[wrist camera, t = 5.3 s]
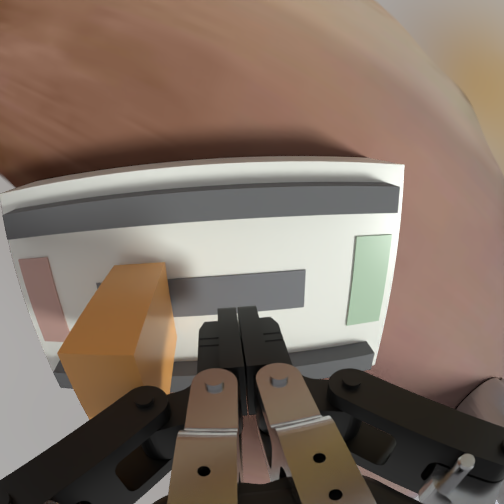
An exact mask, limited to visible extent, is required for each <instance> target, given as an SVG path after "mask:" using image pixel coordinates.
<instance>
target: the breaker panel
mask: <svg viewBox="0 0 504 504" xmlns="http://www.w3.org/2000/svg"><path fill="white" fill-rule="evenodd" d="M281 182H387V183H390V184H393V185H396V186H399V187H400V192H399V205H398V213H376V214H340V215H312V216H289V217H268V218H249V219H232V220H216V221H201V222H187V223H173V224H160V225H148V226H136V227H124V228H113V229H102V230H92V231H82V232H72V233H63V234H53V235H44V236H36V237H27V238H19V239H11V240H8V243H9V247H10V251H11V255H12V259H13V263H14V267H15V271H16V274H17V278H18V281H19V284H20V287H21V291H22V294H23V297H24V300H25V303H26V306H27V309H28V312H29V315H30V317H31V320H32V323H33V325H34V328H35V330H36V333H37V336H38V338H39V341H40V343H41V346H42V348H43V350H44V353H45V355H46V357H47V359H48V362H49V364H50V366H51V368H52V370H53V372H54V370H55V368H56V366H57V364H58V362H59V361H60V359H59V356H58V354H57V353H58V351H59V349H60V347H61V346H62V344H63V342H64V341H65V339H66V337H67V336H68V334H69V333H70V331H71V329H72V328H73V326H74V325H75V323H76V321H77V320H78V318H79V317H80V315H81V313H82V312H83V310H84V309H85V307H86V306H87V304H88V303H89V301H90V300H91V298H92V297H93V295H94V294H95V292H96V291H97V289H98V288H99V286H100V285H101V283H102V282H103V280H104V279H105V278H106V276H107V275H108V273H109V272H110V270H111V269H112V268H113V266H114V265H126V264H142V263H158V262H165V266H166V273H167V280H168V286H169V293H170V299H171V305H172V311H173V317H174V323H175V328H176V334H177V342H176V349H175V356H174V362H176V361H197V359H198V340H199V339H198V337H199V329H200V328H201V326H202V325H203V323H204V322H209V321H218V313H217V308H229V307H236V312H237V307H242V306H255V305H256V307H257V311H258V315H259V318H262V317H271V318H273V319H274V320H275V321H276V322H277V323H278V324H279V327H280V330H281V333H282V336H283V339H284V342H285V345H286V347H287V350H288V353H291V352H299V351H307V350H314V349H321V348H328V347H334V346H341V345H347V344H353V343H358V342H364V341H367V343H368V344H369V346H370V347H371V348H372V350H373V351H374V353H375V354H374V358H373V362H372V365H375V361H376V357H377V353H378V349H379V345H380V341H381V336H382V332H383V327H384V323H385V318H386V313H387V308H388V303H389V297H390V292H391V286H392V280H393V274H394V267H395V261H396V253H397V246H398V238H399V229H400V219H401V209H402V197H403V182H404V165H403V164H398V163H393V162H388V161H383V160H377V159H372V158H363V157H335V156H262V157H234V158H215V159H199V160H186V161H174V162H163V163H153V164H144V165H135V166H127V167H119V168H112V169H105V170H98V171H91V172H85V173H78V174H72V175H67V176H61V177H55V178H50V179H45V180H40V181H35V182H32V183H29V184H26V185H23V186H20V187H18V188H15V189H12V190H9V191H6V192H4V193H1V194H0V201H1V207H2V213H3V215H4V214H6V213H8V212H10V211H12V210H14V209H18V208H23V207H29V206H35V205H41V204H47V203H54V202H60V201H67V200H74V199H81V198H89V197H97V196H105V195H113V194H122V193H131V192H141V191H151V190H162V189H173V188H186V187H199V186H214V185H232V184H253V183H281ZM237 319H238V313H237Z"/></svg>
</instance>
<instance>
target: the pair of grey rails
mask: <svg viewBox="0 0 504 504" xmlns="http://www.w3.org/2000/svg"><path fill="white" fill-rule="evenodd" d="M399 192H400V187H399V186H396V185H393V184H390V183H387V182H281V183H253V184H232V185H214V186H199V187H186V188H173V189H162V190H151V191H141V192H131V193H122V194H113V195H105V196H97V197H89V198H81V199H74V200H67V201H60V202H54V203H47V204H41V205H35V206H29V207H23V208H18V209H14V210H12V211H10V212H8V213H6V214H4V215H3V220H4V225H5V231H6V235H7V239H8V240H11V239H19V238H27V237H36V236H44V235H53V234H63V233H72V232H82V231H92V230H102V229H113V228H124V227H136V226H148V225H160V224H173V223H187V222H201V221H216V220H232V219H249V218H268V217H289V216H312V215H340V214H376V213H398V205H399ZM374 354H375V353H374V351H373V350H372V348H371V347H370V346H369V344H368V343H367V341H364V342H358V343H353V344H347V345H341V346H334V347H328V348H321V349H314V350H307V351H299V352H291V353H289V356H290V359H291V362H292V365H293V366H294V367H296V368H297V369H298V370H299V371H300V373H301V375H303V376H305V377H308V378H312V379H323V378H328V377H331V375H332V374H333V373H335V372H336V371H338V370H341V369H347V368H353V369H358V370H361V371H365V370H369V369H371V366H372V362H373V358H374ZM53 373H54V375H55V377H56V379H57V381H58V383H59V385H60V387H61V388H71V389H73V387H72V385H71V383H70V381H69V379H68V377H67V374H66V372H65V370H64V368H63V366H62V363H61V361H59V362H58V364H57V366H56V368H55V370H54V372H53ZM196 375H197V361H176V362H174V363H173V371H172V379H171V387H170V392H178V391H181V390H184V389H186V388H187V387H189V386H190V385H191V383H192V380H193V378H194V377H195V376H196Z"/></svg>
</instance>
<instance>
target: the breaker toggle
mask: <svg viewBox="0 0 504 504" xmlns="http://www.w3.org/2000/svg"><path fill="white" fill-rule="evenodd" d="M176 342H177V334H176V328H175V323H174V317H173V311H172V305H171V299H170V293H169V286H168V280H167V273H166V266H165V262H158V263H142V264H126V265H114V266H113V268H112V269H111V270H110V272H109V273H108V275H107V276H106V278H105V279H104V280H103V282H102V283H101V285H100V286H99V288H98V289H97V291H96V292H95V294H94V295H93V297H92V298H91V300H90V301H89V303H88V304H87V306H86V307H85V309H84V310H83V312H82V313H81V315H80V317H79V318H78V320H77V321H76V323H75V325H74V326H73V328H72V329H71V331H70V333H69V334H68V336H67V337H66V339H65V341H64V342H63V344H62V346H61V347H60V349H59V351H58V353H57V354H58V356H59V359H60V361H61V363H62V366H63V368H64V370H65V372H66V374H67V377H68V379H69V381H70V383H71V385H72V387H73V389H74V391H75V393H76V395H77V397H78V399H79V401H80V403H81V405H82V407H83V409H84V410H85V412H86V414H87V416H88V418H89V420H90V419H92V418H93V417H95V416H96V415H97V414H99V413H100V412H102V411H103V410H104V409H106V408H107V407H109V406H110V405H111V404H113V403H114V402H115V401H117V400H118V399H120V398H121V397H122V396H124V395H125V394H126V393H128V392H129V391H131V390H132V389H134V388H137V387H140V386H155V387H158V388H160V389H162V390H163V391H164V392H165V393H166V395H167V394H170V387H171V379H172V371H173V363H174V356H175V349H176Z"/></svg>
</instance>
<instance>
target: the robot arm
mask: <svg viewBox="0 0 504 504" xmlns="http://www.w3.org/2000/svg"><path fill="white" fill-rule="evenodd" d="M217 313H218V321H209V322H204V323H203V325H202V326H201V328H200V329H199V337H198V339H199V340H198V359H197V375H196V376H195V377H194V378H193V380H192V383H191V385H190V386H189V387H187V388H186V389H184V390H181V391H178V392H175V393H171V394H167V395H166V393H165V392H164V391H163V390H162V389H160V388H158V387H155V386H140V387H137V388H134V389H132V390H131V391H129V392H128V393H126V394H125V395H124V396H122V397H121V398H120V399H118V400H117V401H115V402H114V403H113V404H111V405H110V406H109V407H107V408H106V409H104V410H103V411H102V412H100V413H99V414H97V415H96V416H95V417H93V418H92V419H90V420H89V421H88V422H86V423H85V424H83V425H82V426H81V427H79V428H78V429H76V430H75V431H73V432H72V433H70V434H69V435H68V436H66V437H65V438H63V439H62V440H60V441H59V442H57V443H56V444H54V445H53V446H51V447H50V448H49V449H47V450H46V451H44V452H43V453H41V454H40V455H38V456H37V457H35V458H34V459H32V460H31V461H29V462H28V463H26V464H25V465H23V466H21V467H20V468H19V469H17V470H15V471H14V472H12V473H11V474H9V475H8V476H6V477H4V478H3V479H1V480H0V504H134V503H135V502H136V501H137V500H138V499H140V497H142V496H143V495H144V494H145V493H146V492H148V491H149V490H150V489H151V488H152V487H153V486H154V485H155V484H156V483H158V481H160V480H161V479H162V478H163V477H164V476H165V475H166V474H167V473H168V472H169V471H171V470H172V471H171V478H170V486H169V492H168V495H167V496H165V497H163V498H161V499H159V500H157V501H156V502H154V503H153V504H495V501H496V500H497V501H498V503H499V504H504V379H502V380H499V379H498V378H492V379H490V380H488V381H486V382H484V383H483V384H481V385H480V386H479V387H477V388H476V389H475V390H474V391H473V392H472V393H470V394H469V395H468V396H467V397H466V398H465V399H464V400H463V402H462V403H461V404H460V405H459V406H458V408H457V409H456V410H455V409H452V408H450V407H447V406H445V405H442V404H440V403H437V402H434V401H432V400H429V399H427V398H425V397H422V396H420V395H417V394H415V393H412V392H410V391H408V390H405V389H403V388H400V387H398V386H396V385H393V384H391V383H389V382H386V381H384V380H382V379H379V378H377V377H375V376H373V375H370V374H368V373H366V372H364V371H361V370H358V369H353V368H347V369H341V370H338V371H336V372H335V373H333V374H332V375H331V377H330V379H329V380H322V379H312V378H308V377H305V376H303V375H301V373H300V371H299V370H298V369H297V368H296V367H294V366H293V365H292V362H291V359H290V356H289V353H288V350H287V347H286V345H285V342H284V339H283V336H282V333H281V330H280V327H279V324H278V323H277V322H276V321H275V320H274V319H273V318H271V317H262V318H259V315H258V311H257V307H256V305H255V306H242V307H237V312H236V307H229V308H217ZM237 313H238V319H237ZM246 397H247V403H246ZM247 404H248V410H249V415H254V414H256V419H257V432H258V436H259V440H260V443H261V447H262V450H263V454H264V457H265V461H266V464H267V468H268V471H269V475H270V481H271V482H270V483H267V484H251V483H243V456H242V430H243V417H242V416H244V415H247ZM362 421H363V422H362ZM364 422H365V423H364ZM366 423H367V424H366ZM368 424H369V425H368ZM370 425H371V426H370ZM373 426H374V427H373ZM375 427H376V428H375ZM377 428H378V429H377ZM379 429H380V430H379ZM381 430H382V431H381ZM383 431H384V432H383ZM385 432H386V433H385ZM387 433H388V434H387ZM389 434H390V435H389ZM356 464H357V465H359V466H361V467H363V468H365V469H367V470H369V471H371V472H373V473H375V474H377V475H379V476H381V477H383V478H385V479H387V480H389V481H391V482H393V483H395V484H398V485H400V486H402V487H404V488H406V489H409V490H411V491H413V492H416V493H418V495H419V500H420V502H419V501H417V500H415V499H413V498H410V497H408V496H406V495H404V494H402V493H400V492H398V491H396V490H394V489H392V488H390V487H388V486H386V485H384V484H383V483H381V482H379V481H377V480H375V479H372V478H370V477H367V476H363V475H362V474H361V472H360V470H359V468H358V467H357V465H356Z"/></svg>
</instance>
